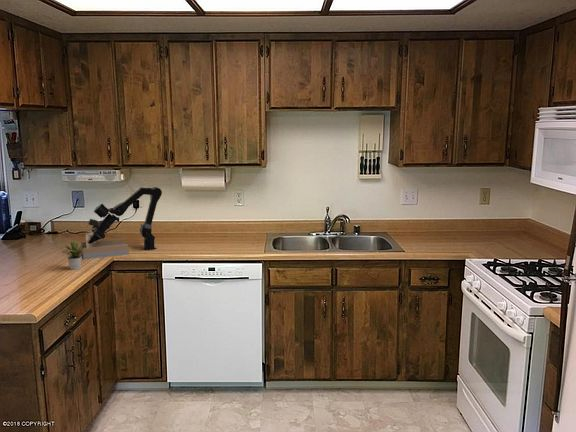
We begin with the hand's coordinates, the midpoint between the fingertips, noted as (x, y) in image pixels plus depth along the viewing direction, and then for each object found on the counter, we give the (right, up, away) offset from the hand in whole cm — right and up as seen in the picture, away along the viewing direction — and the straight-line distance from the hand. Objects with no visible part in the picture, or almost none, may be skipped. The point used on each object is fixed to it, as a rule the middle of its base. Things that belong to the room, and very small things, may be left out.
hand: (88, 242), depth 291 cm
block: (+1, -4, +1) cm, 5 cm away
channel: (+8, -7, +5) cm, 12 cm away
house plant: (+3, -13, -27) cm, 30 cm away
